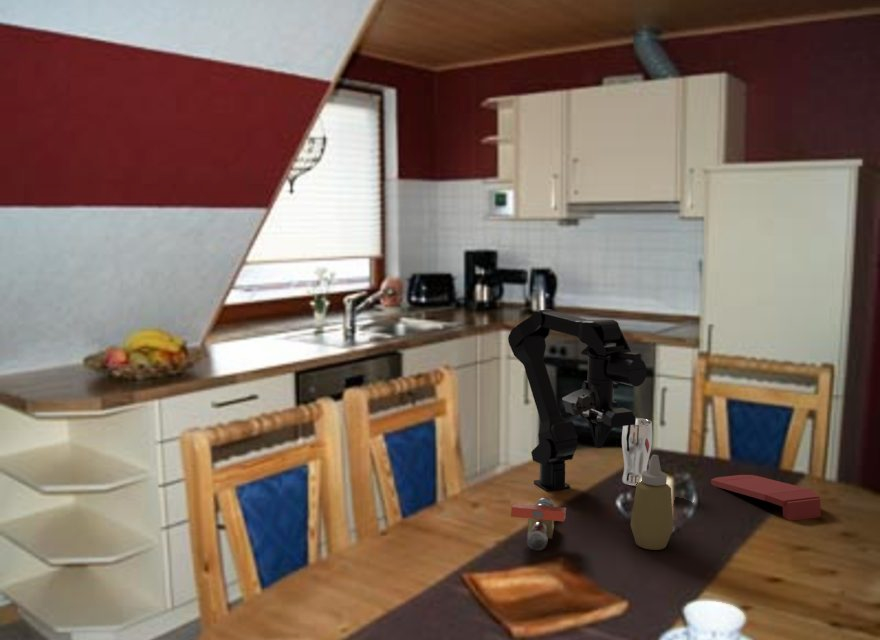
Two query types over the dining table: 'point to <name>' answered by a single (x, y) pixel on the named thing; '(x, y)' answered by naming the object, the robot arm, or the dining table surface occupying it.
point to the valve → (540, 529)
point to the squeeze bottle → (652, 509)
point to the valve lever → (538, 512)
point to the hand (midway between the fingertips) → (598, 447)
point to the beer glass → (636, 449)
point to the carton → (774, 494)
